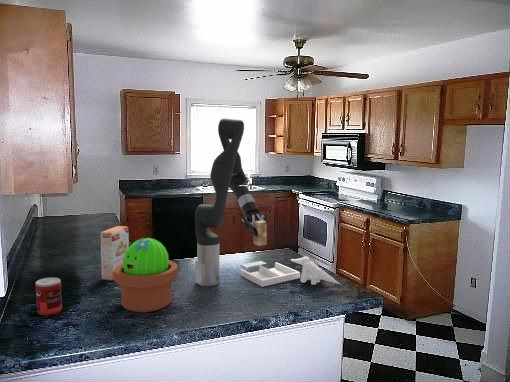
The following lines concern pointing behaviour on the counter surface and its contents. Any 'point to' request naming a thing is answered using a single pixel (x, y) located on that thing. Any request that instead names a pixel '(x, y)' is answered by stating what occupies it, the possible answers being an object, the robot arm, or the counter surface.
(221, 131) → the robot arm
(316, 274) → the dinosaur statue
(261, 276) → the tray
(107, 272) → the cracker box
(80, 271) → the counter surface
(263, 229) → the oak block
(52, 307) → the canned food
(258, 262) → the sage mat
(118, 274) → the potted cactus
